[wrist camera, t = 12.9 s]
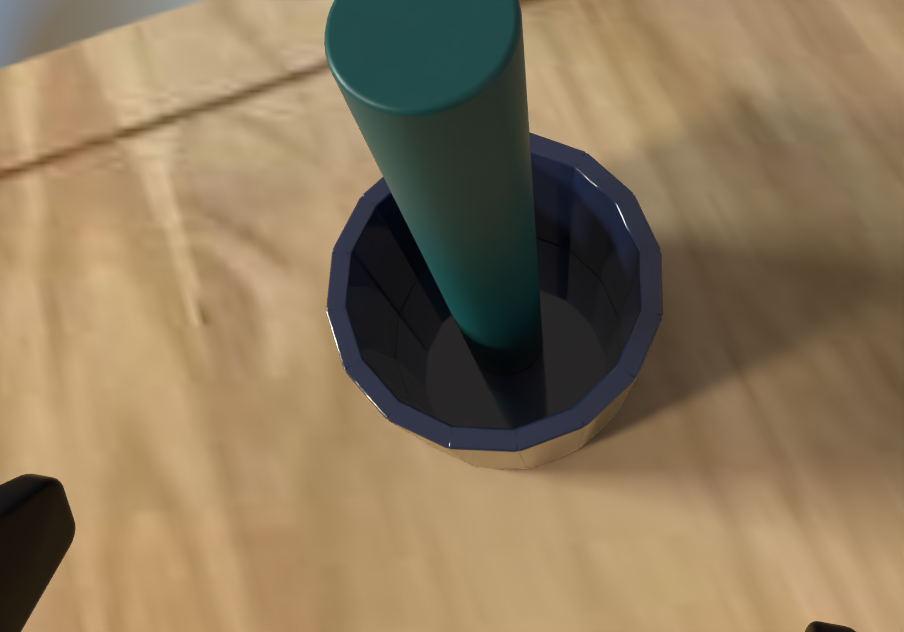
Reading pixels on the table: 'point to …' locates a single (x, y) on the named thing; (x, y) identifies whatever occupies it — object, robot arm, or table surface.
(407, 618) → the table surface
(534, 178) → the cup
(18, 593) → the robot arm
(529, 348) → the teal green rod
